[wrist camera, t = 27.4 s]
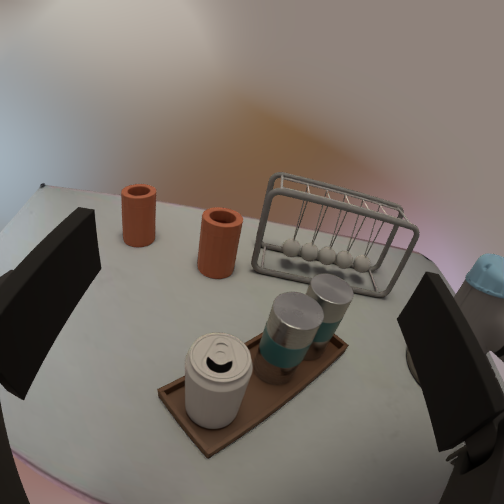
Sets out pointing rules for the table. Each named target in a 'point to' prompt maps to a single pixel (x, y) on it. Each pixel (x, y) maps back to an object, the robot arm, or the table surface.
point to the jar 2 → (219, 242)
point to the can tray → (248, 398)
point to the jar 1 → (138, 214)
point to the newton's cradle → (327, 253)
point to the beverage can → (216, 379)
